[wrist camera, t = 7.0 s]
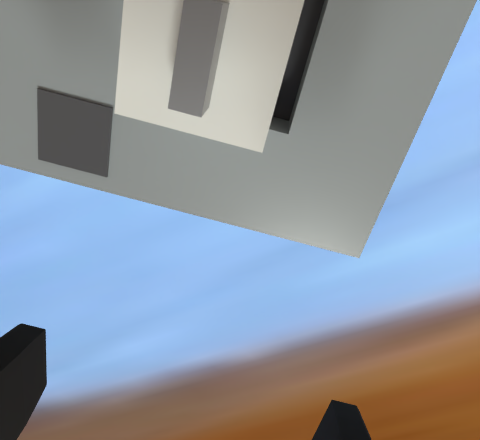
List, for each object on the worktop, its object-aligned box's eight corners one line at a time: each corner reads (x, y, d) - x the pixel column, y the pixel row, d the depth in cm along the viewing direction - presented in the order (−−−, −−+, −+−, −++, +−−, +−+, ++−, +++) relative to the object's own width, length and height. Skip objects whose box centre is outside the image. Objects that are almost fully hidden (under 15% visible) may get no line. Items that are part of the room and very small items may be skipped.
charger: (272, 101, 16) (259, 166, 10) (173, 74, 16) (98, 123, 10) (304, -14, 14) (311, -21, 8) (190, -45, 14) (111, -75, 8)
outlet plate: (353, 233, 19) (359, 259, 17) (7, 142, 19) (-25, 158, 17) (492, -89, 13) (525, -103, 11) (-13, -225, 13) (-65, -262, 11)
